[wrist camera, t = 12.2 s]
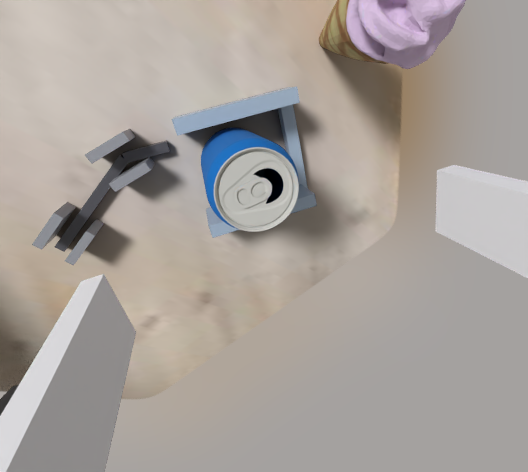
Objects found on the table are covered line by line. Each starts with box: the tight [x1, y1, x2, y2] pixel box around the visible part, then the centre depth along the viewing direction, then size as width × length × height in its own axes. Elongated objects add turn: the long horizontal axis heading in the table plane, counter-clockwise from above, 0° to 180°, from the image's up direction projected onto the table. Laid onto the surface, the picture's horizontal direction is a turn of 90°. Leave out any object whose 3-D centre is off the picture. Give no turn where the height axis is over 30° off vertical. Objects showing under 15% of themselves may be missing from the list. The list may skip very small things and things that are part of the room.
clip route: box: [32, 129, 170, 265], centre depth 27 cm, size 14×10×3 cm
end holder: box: [172, 87, 317, 238], centre depth 28 cm, size 11×10×5 cm
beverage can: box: [201, 128, 299, 232], centre depth 25 cm, size 6×6×12 cm
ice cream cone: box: [319, 0, 466, 69], centre depth 21 cm, size 7×6×15 cm
